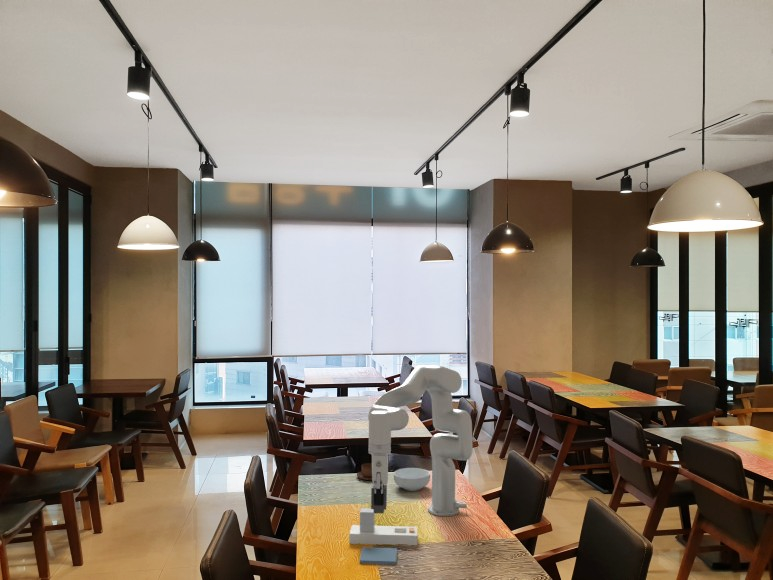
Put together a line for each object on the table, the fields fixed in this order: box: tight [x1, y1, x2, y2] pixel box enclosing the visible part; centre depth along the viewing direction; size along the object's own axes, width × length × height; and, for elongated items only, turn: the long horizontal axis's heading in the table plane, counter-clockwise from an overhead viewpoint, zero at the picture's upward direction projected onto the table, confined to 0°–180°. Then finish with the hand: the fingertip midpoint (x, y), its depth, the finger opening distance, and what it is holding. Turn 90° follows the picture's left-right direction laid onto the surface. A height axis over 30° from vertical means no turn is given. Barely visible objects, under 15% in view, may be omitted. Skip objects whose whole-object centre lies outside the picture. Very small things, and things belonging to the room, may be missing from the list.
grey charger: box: [359, 507, 376, 532], centre depth 211 cm, size 5×4×8 cm
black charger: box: [370, 483, 388, 514], centre depth 196 cm, size 5×4×8 cm
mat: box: [359, 546, 398, 565], centre depth 196 cm, size 12×10×1 cm
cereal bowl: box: [393, 467, 431, 492], centre depth 268 cm, size 17×17×7 cm
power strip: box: [349, 524, 418, 546], centre depth 210 cm, size 24×8×4 cm, turn 87°
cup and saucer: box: [356, 462, 372, 481], centre depth 282 cm, size 12×12×6 cm
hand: (379, 502), depth 196 cm, fingers closed on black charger, 4 cm apart
